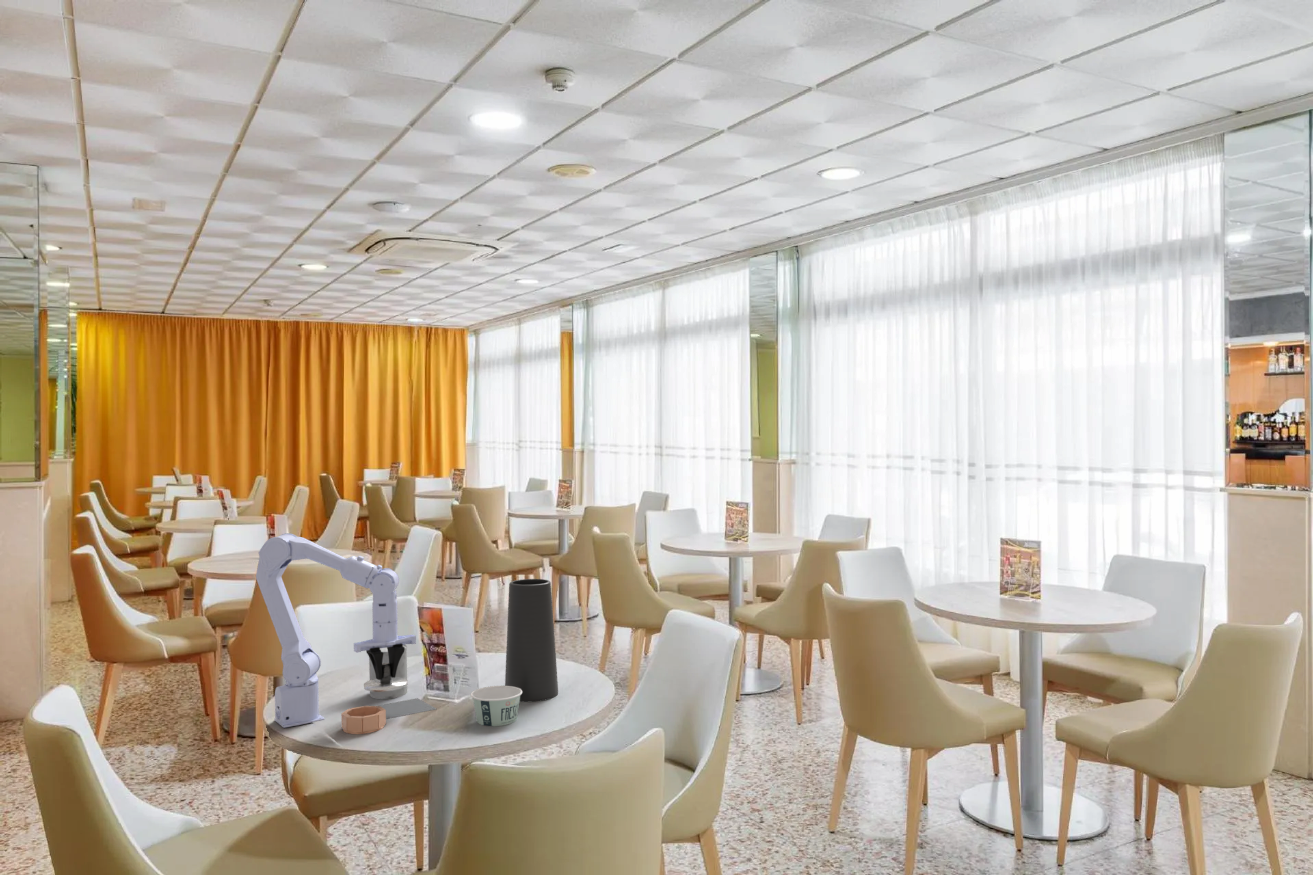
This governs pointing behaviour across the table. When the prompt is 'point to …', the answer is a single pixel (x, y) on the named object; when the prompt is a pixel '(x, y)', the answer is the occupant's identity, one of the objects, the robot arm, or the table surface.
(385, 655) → the grey concrete cylinder
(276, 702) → the robot arm
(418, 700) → the mat
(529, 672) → the vase
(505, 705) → the food container
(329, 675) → the table surface
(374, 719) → the bowl
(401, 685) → the lid
